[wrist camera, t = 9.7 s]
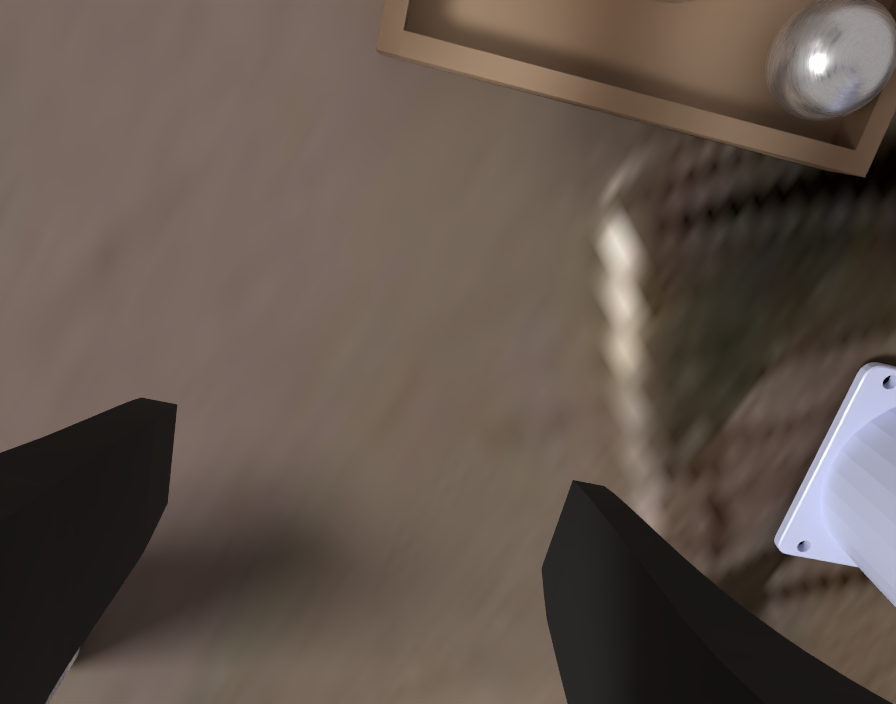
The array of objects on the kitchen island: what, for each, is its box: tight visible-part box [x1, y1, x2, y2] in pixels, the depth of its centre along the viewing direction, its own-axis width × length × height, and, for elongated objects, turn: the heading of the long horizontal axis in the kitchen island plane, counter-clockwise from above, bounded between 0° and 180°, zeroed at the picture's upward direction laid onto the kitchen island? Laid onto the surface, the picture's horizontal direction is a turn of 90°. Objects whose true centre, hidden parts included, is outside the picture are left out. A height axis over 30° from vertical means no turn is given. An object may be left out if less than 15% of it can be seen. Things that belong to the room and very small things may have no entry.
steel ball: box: [765, 0, 896, 121], centre depth 17 cm, size 3×3×3 cm
